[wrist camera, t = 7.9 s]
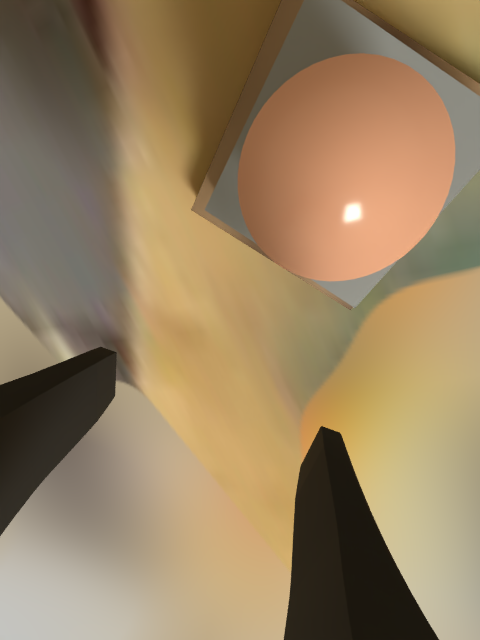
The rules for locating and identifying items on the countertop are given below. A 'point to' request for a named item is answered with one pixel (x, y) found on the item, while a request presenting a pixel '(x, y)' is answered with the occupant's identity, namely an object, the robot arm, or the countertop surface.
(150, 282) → the countertop surface
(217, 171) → the walnut slab
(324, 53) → the gray slab
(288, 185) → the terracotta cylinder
